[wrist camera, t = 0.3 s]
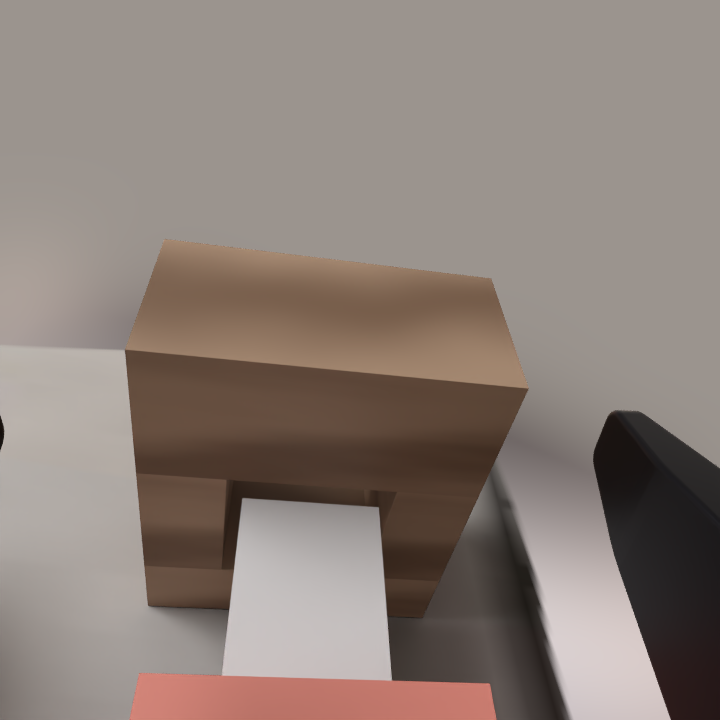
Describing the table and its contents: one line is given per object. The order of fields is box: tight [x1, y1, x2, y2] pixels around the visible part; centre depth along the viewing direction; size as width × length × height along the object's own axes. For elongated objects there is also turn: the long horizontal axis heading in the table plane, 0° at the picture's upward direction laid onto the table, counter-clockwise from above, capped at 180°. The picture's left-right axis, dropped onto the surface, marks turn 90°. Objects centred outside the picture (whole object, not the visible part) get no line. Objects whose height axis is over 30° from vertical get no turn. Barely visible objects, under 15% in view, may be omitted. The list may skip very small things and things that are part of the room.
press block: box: [125, 239, 529, 618], centre depth 22 cm, size 5×10×12 cm, turn 93°
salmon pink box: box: [130, 498, 496, 720], centre depth 17 cm, size 9×7×9 cm
